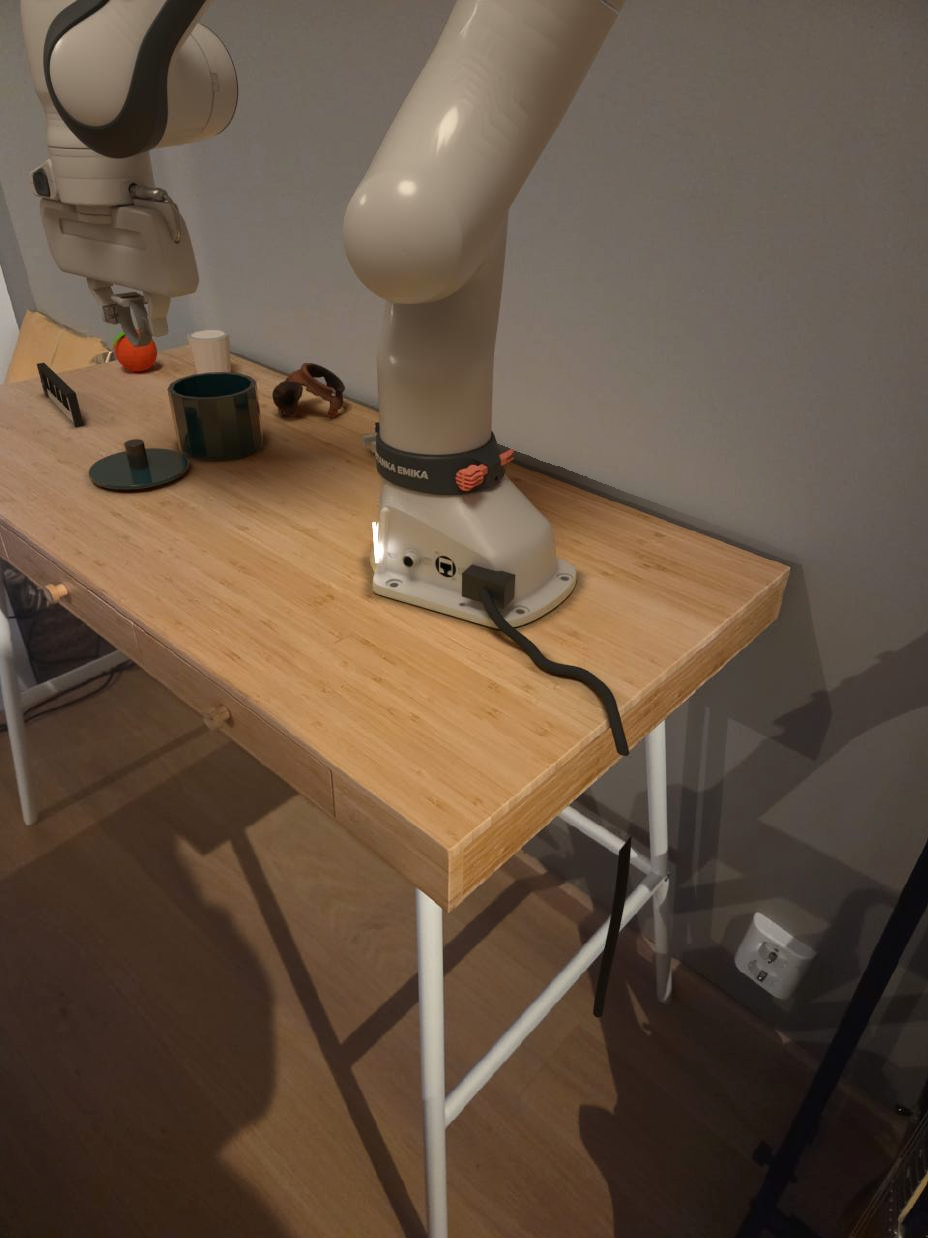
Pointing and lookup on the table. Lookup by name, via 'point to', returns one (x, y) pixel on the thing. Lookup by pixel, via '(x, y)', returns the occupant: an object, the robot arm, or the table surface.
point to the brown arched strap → (308, 389)
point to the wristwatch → (126, 320)
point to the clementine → (134, 353)
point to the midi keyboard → (60, 394)
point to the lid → (138, 467)
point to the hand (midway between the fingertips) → (135, 328)
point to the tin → (216, 415)
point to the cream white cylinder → (210, 350)
